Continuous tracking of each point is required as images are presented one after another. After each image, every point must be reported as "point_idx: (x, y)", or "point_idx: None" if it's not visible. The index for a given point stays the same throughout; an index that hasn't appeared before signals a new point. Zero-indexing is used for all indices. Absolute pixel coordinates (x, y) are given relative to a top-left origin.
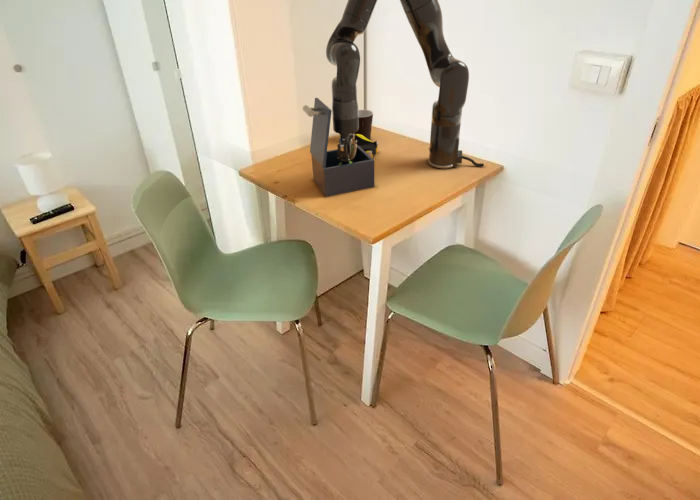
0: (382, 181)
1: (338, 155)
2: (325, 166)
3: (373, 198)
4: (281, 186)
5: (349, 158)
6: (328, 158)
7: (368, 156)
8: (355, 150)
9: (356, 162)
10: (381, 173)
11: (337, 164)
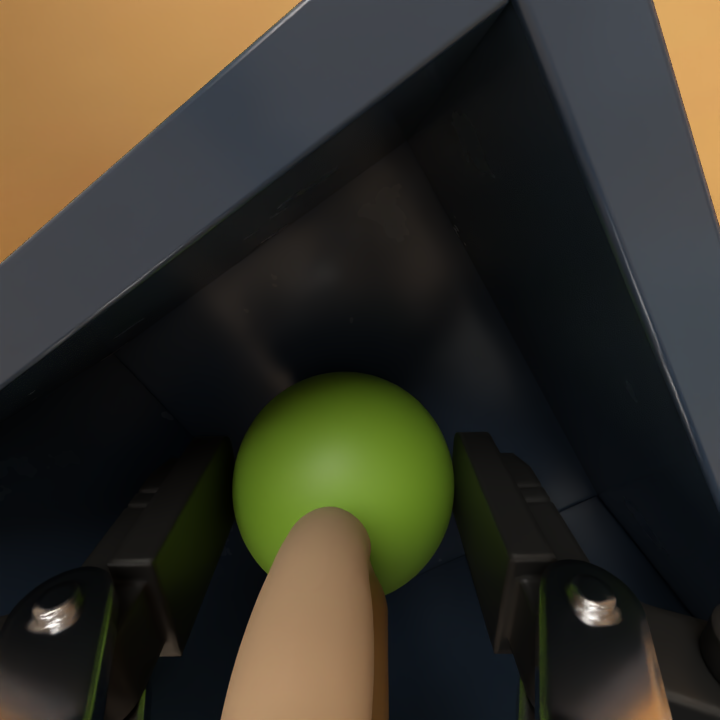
0: (251, 13)
1: (161, 667)
2: None
3: (691, 51)
4: None
5: (370, 571)
6: None
7: (248, 149)
8: (343, 693)
9: (713, 421)
10: (45, 72)
11: (220, 568)
